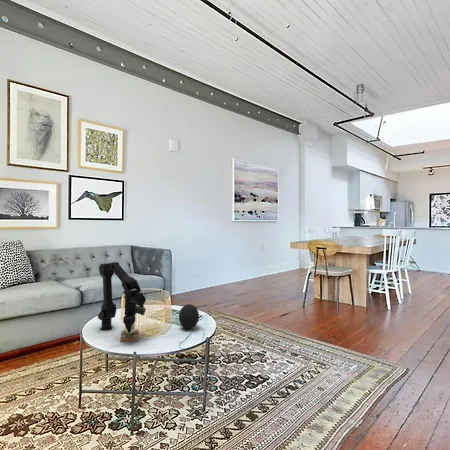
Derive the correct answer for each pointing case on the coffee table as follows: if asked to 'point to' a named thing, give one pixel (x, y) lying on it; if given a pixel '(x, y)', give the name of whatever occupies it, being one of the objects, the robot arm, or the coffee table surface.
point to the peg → (131, 330)
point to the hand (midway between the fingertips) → (129, 329)
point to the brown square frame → (129, 336)
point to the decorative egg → (188, 316)
